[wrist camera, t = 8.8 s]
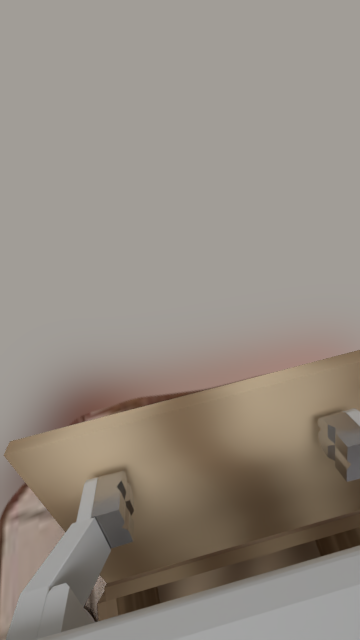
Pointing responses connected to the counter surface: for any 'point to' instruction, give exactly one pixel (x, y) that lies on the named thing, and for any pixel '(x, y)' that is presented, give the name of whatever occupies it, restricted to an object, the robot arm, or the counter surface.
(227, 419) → the lid flap
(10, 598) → the counter surface
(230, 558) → the cardboard carton
